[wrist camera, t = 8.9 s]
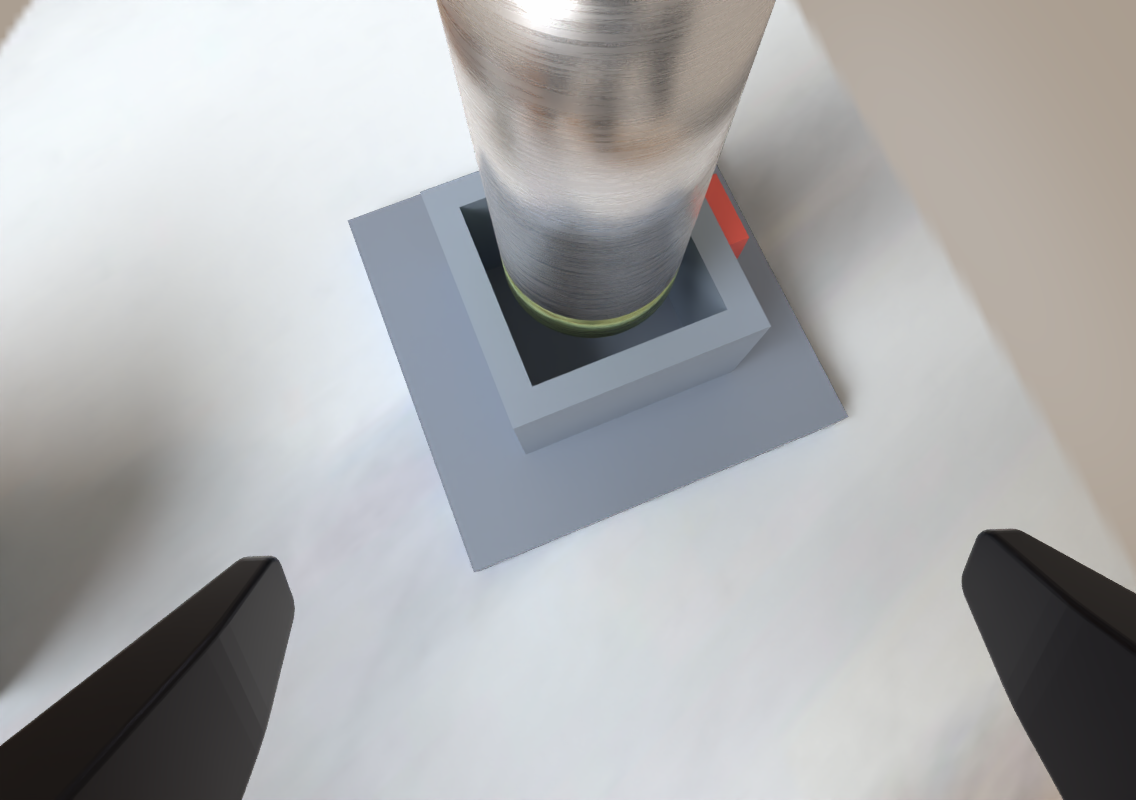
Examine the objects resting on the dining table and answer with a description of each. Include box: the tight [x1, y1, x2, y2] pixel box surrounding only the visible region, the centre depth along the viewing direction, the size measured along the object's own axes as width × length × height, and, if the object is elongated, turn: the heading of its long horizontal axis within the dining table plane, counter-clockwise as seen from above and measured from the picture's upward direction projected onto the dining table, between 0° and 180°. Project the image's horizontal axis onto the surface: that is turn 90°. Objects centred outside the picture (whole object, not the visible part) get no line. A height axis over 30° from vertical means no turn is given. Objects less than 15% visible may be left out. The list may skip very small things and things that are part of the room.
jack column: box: [437, 0, 776, 338], centre depth 11 cm, size 4×4×11 cm
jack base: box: [348, 164, 848, 572], centre depth 19 cm, size 12×12×5 cm
